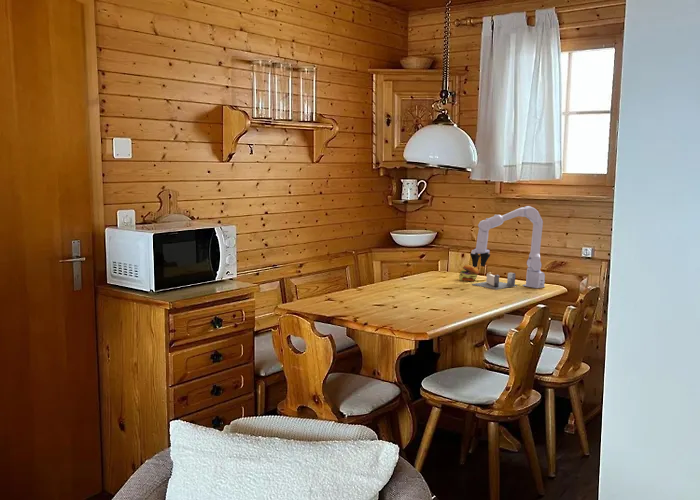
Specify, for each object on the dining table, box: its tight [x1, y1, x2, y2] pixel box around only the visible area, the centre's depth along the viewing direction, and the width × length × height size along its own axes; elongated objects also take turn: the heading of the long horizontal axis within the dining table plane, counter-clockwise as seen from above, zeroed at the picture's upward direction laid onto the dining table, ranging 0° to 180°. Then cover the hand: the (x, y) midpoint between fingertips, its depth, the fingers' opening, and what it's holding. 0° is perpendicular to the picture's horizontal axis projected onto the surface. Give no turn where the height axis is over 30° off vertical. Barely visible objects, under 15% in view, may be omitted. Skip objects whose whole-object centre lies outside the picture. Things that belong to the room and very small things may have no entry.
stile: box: [506, 272, 516, 286], centre depth 382 cm, size 5×6×6 cm
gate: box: [485, 271, 496, 286], centre depth 381 cm, size 10×2×6 cm, turn 12°
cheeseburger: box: [458, 263, 480, 282], centre depth 396 cm, size 10×11×10 cm
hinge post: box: [494, 274, 500, 287], centre depth 375 cm, size 2×2×6 cm
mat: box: [472, 281, 518, 291], centre depth 382 cm, size 16×19×1 cm
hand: (478, 266), depth 384 cm, fingers open, 7 cm apart
